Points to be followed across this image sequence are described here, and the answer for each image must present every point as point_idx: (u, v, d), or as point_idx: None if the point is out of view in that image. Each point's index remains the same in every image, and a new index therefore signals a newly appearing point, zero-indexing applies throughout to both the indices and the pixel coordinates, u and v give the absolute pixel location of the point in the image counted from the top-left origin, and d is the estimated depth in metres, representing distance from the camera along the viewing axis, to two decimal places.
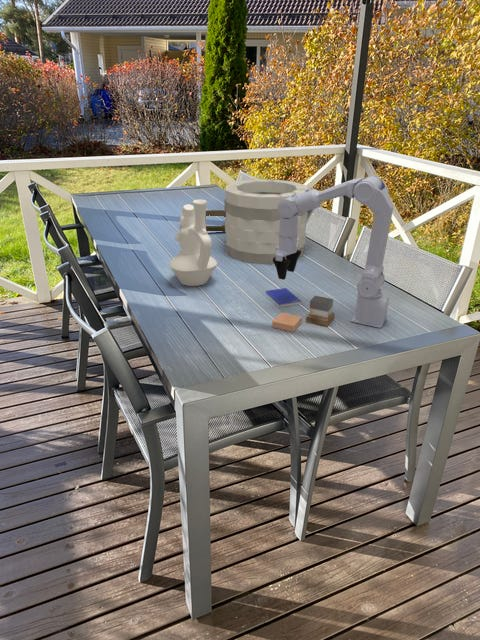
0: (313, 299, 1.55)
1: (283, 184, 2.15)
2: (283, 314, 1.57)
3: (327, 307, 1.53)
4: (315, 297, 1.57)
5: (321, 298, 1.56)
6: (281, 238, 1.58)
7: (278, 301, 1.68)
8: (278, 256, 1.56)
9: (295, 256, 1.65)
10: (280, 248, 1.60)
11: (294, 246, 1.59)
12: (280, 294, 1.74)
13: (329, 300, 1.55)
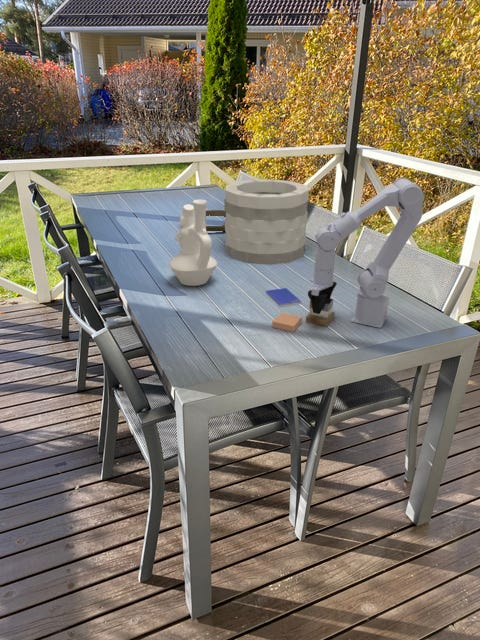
0: None
1: (283, 184, 2.15)
2: (283, 314, 1.57)
3: (327, 307, 1.53)
4: None
5: None
6: (317, 271, 1.49)
7: (278, 301, 1.68)
8: (314, 290, 1.47)
9: (330, 288, 1.56)
10: (315, 281, 1.51)
11: (331, 279, 1.50)
12: (280, 294, 1.74)
13: (329, 300, 1.55)
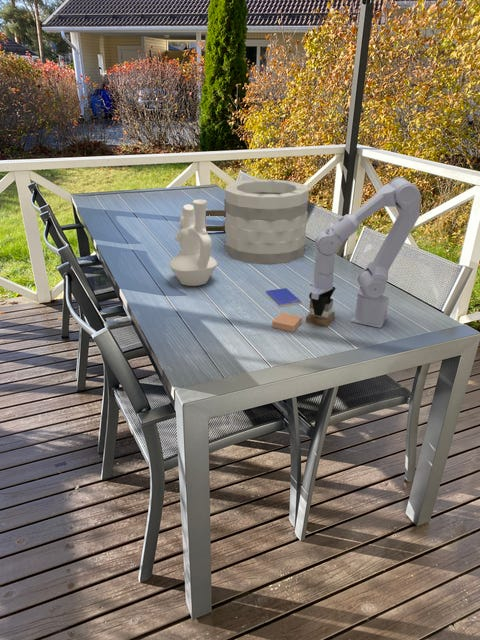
0: None
1: (283, 184, 2.15)
2: (283, 314, 1.57)
3: (327, 307, 1.53)
4: None
5: None
6: (317, 275, 1.49)
7: (278, 301, 1.68)
8: (314, 294, 1.47)
9: (329, 293, 1.56)
10: (315, 285, 1.51)
11: (330, 283, 1.50)
12: (280, 294, 1.74)
13: (329, 300, 1.55)
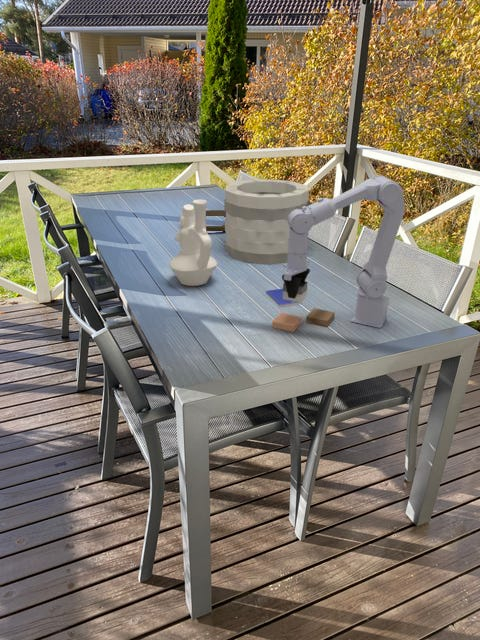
0: None
1: (283, 184, 2.15)
2: (283, 314, 1.57)
3: (301, 290, 1.47)
4: None
5: None
6: (290, 255, 1.44)
7: (278, 301, 1.68)
8: (286, 275, 1.42)
9: (303, 275, 1.50)
10: (288, 266, 1.46)
11: (304, 264, 1.45)
12: (280, 294, 1.74)
13: (303, 283, 1.49)
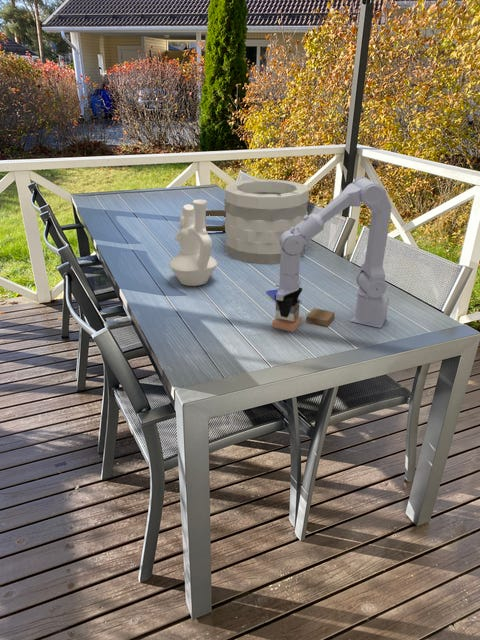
0: None
1: (283, 184, 2.15)
2: None
3: (293, 309, 1.49)
4: None
5: None
6: (282, 275, 1.46)
7: None
8: (279, 295, 1.44)
9: (295, 294, 1.52)
10: (281, 285, 1.48)
11: (296, 284, 1.47)
12: None
13: (295, 302, 1.51)
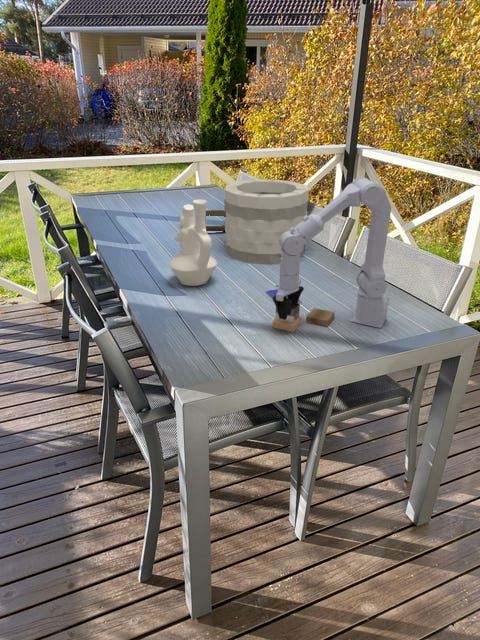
0: None
1: (283, 184, 2.15)
2: None
3: (293, 312, 1.50)
4: None
5: None
6: (282, 276, 1.46)
7: None
8: (279, 296, 1.44)
9: (297, 293, 1.53)
10: (281, 286, 1.48)
11: (296, 284, 1.47)
12: None
13: (295, 305, 1.52)
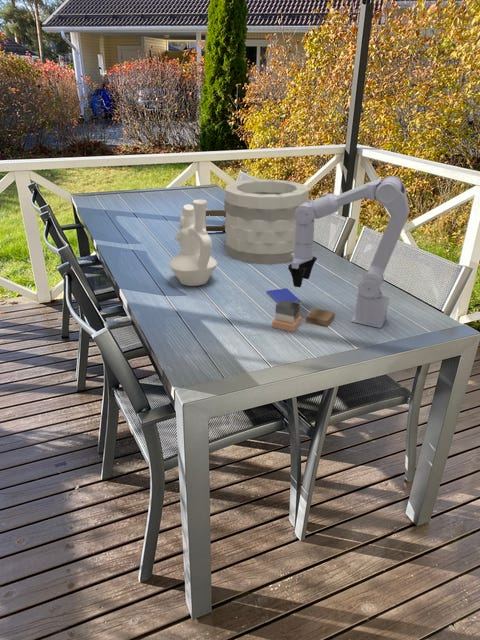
0: (279, 303, 1.52)
1: (283, 184, 2.15)
2: None
3: (293, 312, 1.50)
4: (281, 301, 1.54)
5: (287, 302, 1.53)
6: (297, 245, 1.54)
7: (278, 301, 1.68)
8: (294, 264, 1.52)
9: (310, 263, 1.61)
10: (296, 255, 1.56)
11: (310, 253, 1.55)
12: (281, 294, 1.74)
13: (295, 305, 1.52)
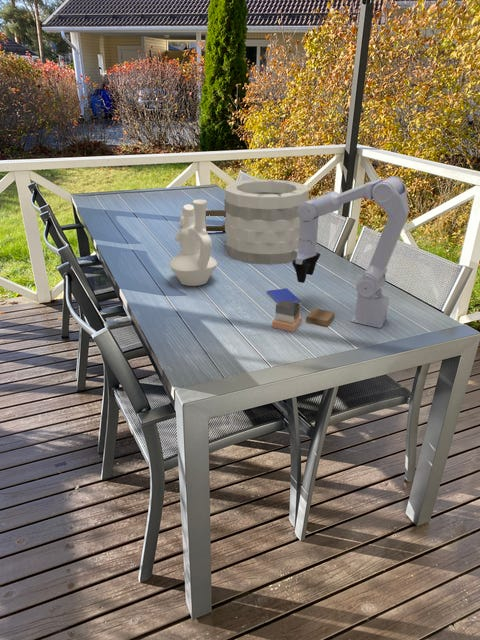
0: (279, 303, 1.52)
1: (283, 184, 2.15)
2: None
3: (293, 312, 1.50)
4: (281, 301, 1.54)
5: (287, 302, 1.53)
6: (301, 241, 1.57)
7: (278, 301, 1.68)
8: (298, 259, 1.55)
9: (314, 259, 1.65)
10: (300, 251, 1.59)
11: (314, 249, 1.58)
12: (281, 294, 1.74)
13: (295, 305, 1.52)
